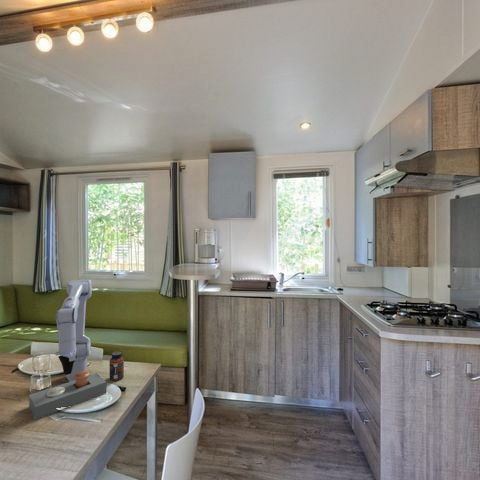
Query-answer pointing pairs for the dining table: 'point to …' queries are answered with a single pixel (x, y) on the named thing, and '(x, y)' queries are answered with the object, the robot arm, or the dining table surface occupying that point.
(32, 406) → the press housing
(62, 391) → the plunger
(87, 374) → the terracotta plunger
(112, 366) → the supplement bottle
